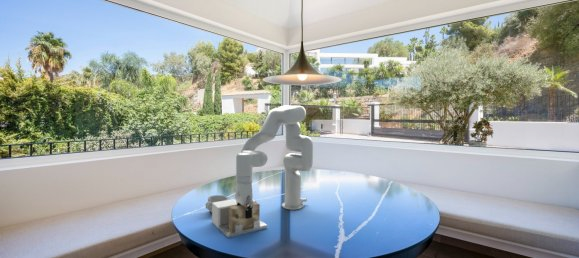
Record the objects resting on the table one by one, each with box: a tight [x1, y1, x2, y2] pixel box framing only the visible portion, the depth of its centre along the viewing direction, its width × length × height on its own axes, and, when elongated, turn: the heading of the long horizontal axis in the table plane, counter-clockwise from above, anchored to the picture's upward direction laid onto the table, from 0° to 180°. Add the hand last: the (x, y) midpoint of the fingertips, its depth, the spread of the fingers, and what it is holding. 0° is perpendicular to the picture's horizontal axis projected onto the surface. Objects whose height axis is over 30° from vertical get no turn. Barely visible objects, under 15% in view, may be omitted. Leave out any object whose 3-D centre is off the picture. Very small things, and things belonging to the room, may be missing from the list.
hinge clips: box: [217, 219, 268, 239], centre depth 136 cm, size 20×12×4 cm, turn 124°
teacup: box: [205, 194, 229, 213], centre depth 157 cm, size 14×11×8 cm
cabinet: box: [211, 198, 257, 229], centre depth 145 cm, size 20×9×10 cm, turn 124°
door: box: [229, 201, 261, 231], centre depth 134 cm, size 14×5×10 cm, turn 124°
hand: (244, 214), depth 134 cm, fingers open, 9 cm apart
